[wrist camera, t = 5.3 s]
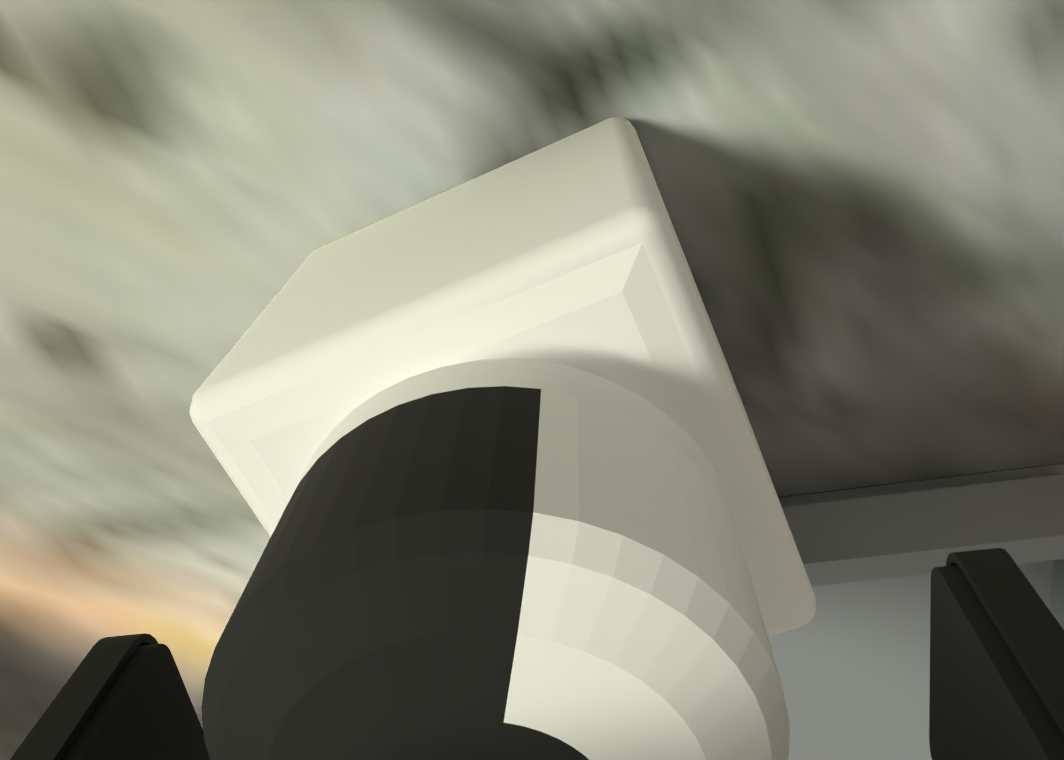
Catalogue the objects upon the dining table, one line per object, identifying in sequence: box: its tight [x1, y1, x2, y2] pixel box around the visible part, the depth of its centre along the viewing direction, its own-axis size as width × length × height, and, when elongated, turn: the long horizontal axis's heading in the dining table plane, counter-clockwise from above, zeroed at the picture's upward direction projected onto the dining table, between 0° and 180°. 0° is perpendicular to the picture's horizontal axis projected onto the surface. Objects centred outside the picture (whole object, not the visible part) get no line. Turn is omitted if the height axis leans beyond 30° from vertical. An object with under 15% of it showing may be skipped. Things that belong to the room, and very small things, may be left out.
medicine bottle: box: [189, 117, 816, 760], centre depth 14 cm, size 7×7×12 cm
